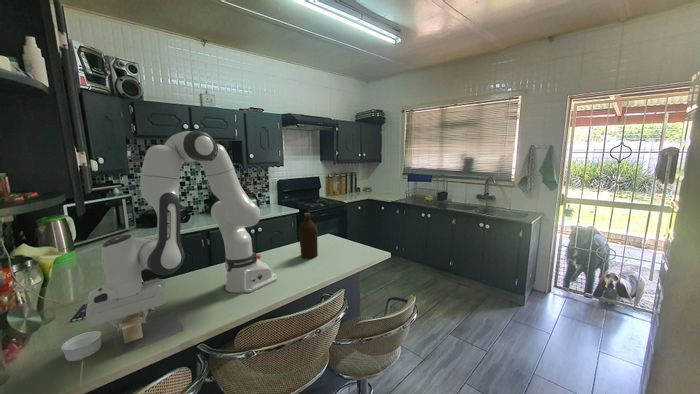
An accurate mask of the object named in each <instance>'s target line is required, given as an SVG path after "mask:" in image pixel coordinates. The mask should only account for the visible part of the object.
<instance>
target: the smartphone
mask: <svg viewBox="0 0 700 394" xmlns="http://www.w3.org/2000/svg"><path fill="white" fill-rule="evenodd" d="M87 304H88V302H87V303H84V304H82V305H81V306H80V307H79V309H78V310H77V311H76V312H75V313H74V314H73V315H72V317H71V318H70V319H69V321H68V324H73V323H79V322H81V321H82V322H84V321H86V308H87Z"/></svg>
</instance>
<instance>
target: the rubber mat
mask: <svg viewBox="0 0 700 394" xmlns="http://www.w3.org/2000/svg"><path fill="white" fill-rule="evenodd" d="M141 327H142V333H143V337H142V338H139V339H136V340H133V341H131V342H128V343H125V342H124V336H123V330H122V331H119V332H117V331H114V332H113V344H114V345H113V346H114V347H113V348H114V358H118V357H121V356H123V355H126V354H128V353H131V352H134V351H137V350H139V349H141V348H143V347H147V346H150V345H151V344H153V343H154V344H155V343H157V342H159V341H162V340H165V339H167V338H170V337H171V336H174V335H177V334H180V333H182V332H185V329H184V326H183V325H182V322H181V320H180V318H179V317H178V315H177V312H176V311H173V312H170V313H167V314H164V315H162V316H161V315H160V316H157V317H155V318H152V319H149V320H146V323H143V324H141Z"/></svg>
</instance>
